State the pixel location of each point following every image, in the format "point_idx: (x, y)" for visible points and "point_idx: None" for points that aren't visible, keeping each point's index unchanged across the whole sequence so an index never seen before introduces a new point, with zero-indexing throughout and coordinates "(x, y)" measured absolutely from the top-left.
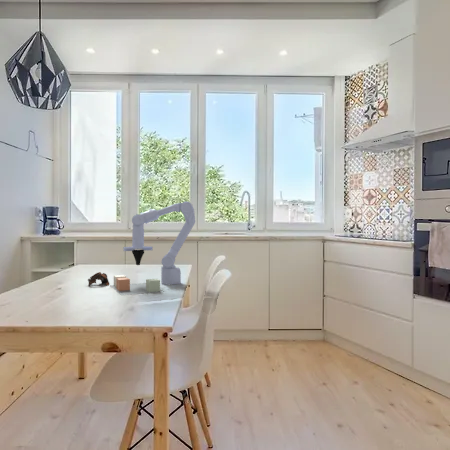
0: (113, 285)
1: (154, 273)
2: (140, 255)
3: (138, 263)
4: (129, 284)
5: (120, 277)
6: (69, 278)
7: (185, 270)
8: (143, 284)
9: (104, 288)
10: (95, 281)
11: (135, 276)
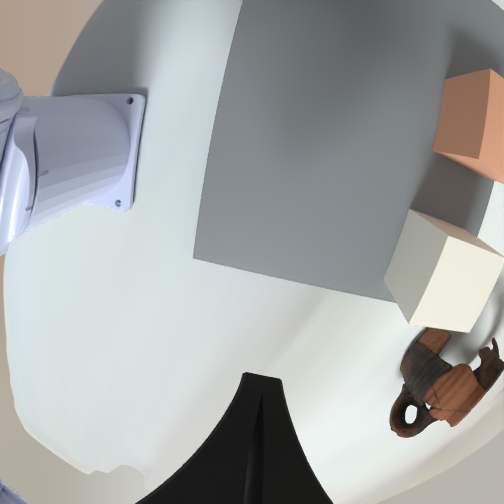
0: None
1: (97, 433)
2: (220, 494)
3: (264, 390)
4: (467, 75)
5: (481, 246)
6: (372, 487)
7: (15, 393)
8: (258, 208)
9: None
10: (497, 345)
11: (173, 446)
